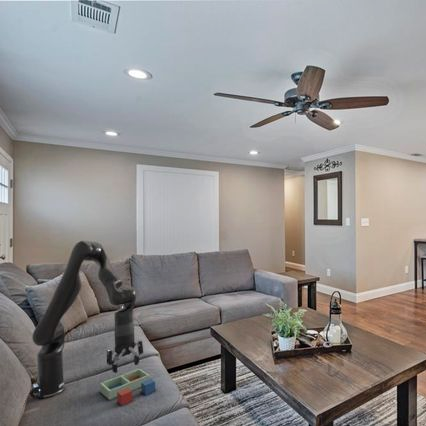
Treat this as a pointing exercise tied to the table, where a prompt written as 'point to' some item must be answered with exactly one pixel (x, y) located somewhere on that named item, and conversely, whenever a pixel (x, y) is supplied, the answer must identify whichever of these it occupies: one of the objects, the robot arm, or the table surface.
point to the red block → (124, 396)
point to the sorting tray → (123, 383)
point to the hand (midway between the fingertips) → (126, 368)
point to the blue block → (148, 386)
